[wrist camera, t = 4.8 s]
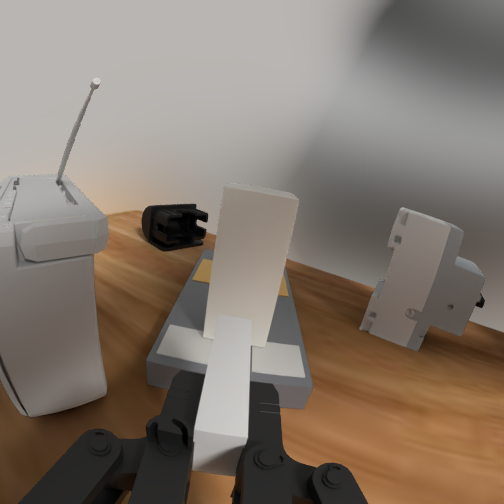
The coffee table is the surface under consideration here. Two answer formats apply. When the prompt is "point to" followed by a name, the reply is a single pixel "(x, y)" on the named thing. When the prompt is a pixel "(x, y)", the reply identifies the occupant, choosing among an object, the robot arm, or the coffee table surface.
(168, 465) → the robot arm
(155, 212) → the end cap
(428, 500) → the coffee table surface
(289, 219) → the slider tab
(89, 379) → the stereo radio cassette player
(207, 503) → the coffee table surface
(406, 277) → the circuit breaker
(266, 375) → the grey flat board
